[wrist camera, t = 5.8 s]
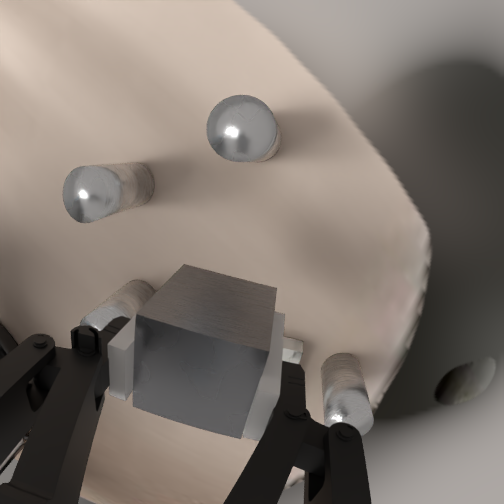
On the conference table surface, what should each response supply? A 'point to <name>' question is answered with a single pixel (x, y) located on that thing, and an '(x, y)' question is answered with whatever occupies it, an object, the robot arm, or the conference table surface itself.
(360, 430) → the cylinder
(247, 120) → the cylinder
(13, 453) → the coffee press
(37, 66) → the conference table surface
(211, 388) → the slate cube
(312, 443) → the robot arm
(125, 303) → the spacer
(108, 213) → the cylinder
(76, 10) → the conference table surface
